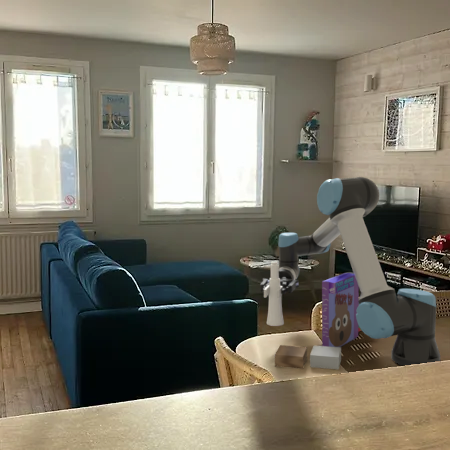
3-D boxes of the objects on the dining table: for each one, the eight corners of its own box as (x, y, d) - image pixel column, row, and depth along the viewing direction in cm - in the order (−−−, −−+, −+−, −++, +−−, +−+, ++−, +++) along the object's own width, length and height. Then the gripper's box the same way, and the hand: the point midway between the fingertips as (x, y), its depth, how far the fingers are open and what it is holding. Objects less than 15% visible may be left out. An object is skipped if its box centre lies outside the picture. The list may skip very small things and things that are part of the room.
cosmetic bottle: (287, 322, 198) (286, 261, 195) (278, 327, 193) (277, 264, 190) (272, 319, 202) (271, 259, 199) (263, 324, 197) (262, 262, 194)
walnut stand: (306, 358, 188) (306, 347, 187) (303, 368, 179) (302, 356, 179) (280, 356, 190) (280, 345, 190) (275, 366, 182) (274, 354, 181)
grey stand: (341, 359, 186) (341, 347, 186) (338, 369, 178) (338, 357, 177) (313, 356, 189) (313, 345, 188) (310, 367, 180) (310, 355, 180)
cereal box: (334, 350, 195) (334, 282, 191) (322, 347, 198) (322, 280, 194) (358, 337, 208) (358, 273, 204) (346, 334, 211) (346, 271, 207)
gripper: (306, 289, 211) (296, 306, 189) (262, 287, 216) (247, 303, 193) (306, 269, 210) (296, 284, 188) (262, 267, 215) (247, 282, 192)
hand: (271, 294), depth 191 cm, fingers closed on cosmetic bottle, 4 cm apart
